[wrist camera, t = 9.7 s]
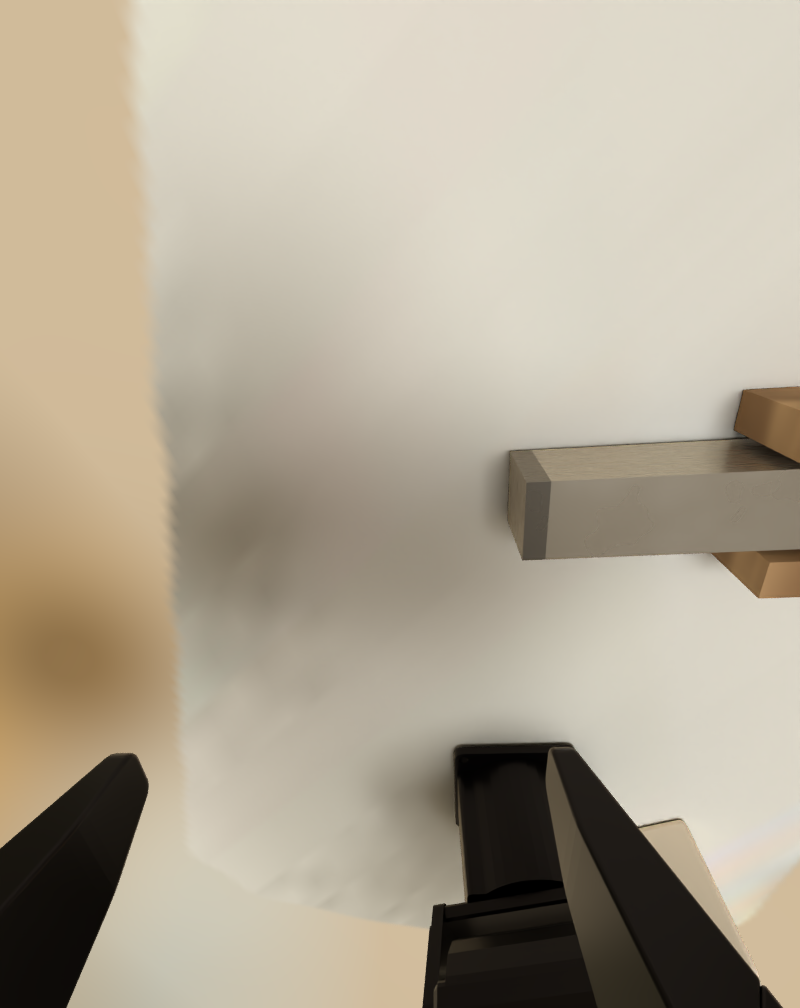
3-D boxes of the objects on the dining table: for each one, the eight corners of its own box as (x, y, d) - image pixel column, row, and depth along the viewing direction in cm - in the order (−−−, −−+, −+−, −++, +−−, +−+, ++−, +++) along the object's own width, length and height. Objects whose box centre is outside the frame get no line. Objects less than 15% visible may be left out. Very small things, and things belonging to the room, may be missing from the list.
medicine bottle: (563, 841, 30) (648, 1168, 19) (682, 815, 28) (848, 1155, 17) (592, 899, 32) (681, 1213, 22) (702, 878, 31) (856, 1204, 20)
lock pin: (507, 520, 20) (522, 560, 17) (510, 451, 18) (526, 482, 16) (834, 505, 19) (904, 545, 16) (861, 432, 18) (942, 462, 15)
